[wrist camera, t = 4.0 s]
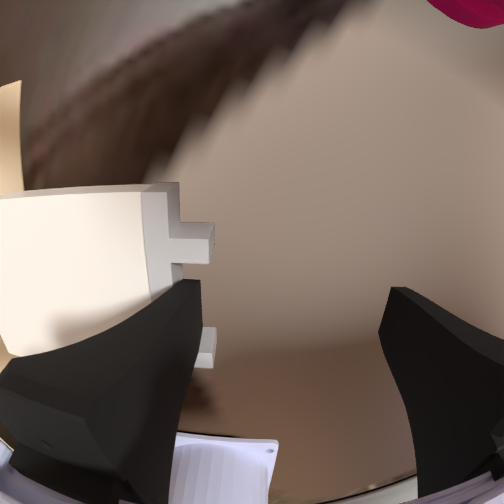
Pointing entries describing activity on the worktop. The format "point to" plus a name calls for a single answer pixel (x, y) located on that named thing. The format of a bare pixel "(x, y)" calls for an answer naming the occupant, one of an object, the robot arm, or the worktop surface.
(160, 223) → the white tabbed block
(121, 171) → the worktop surface
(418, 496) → the robot arm
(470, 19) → the pepper mill
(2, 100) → the dock
